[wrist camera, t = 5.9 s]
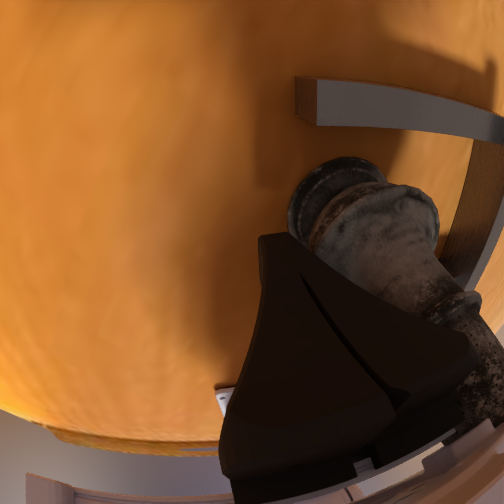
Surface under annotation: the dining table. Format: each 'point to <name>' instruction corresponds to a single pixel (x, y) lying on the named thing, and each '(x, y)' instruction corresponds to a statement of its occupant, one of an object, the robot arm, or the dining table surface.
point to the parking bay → (430, 120)
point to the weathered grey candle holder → (397, 264)
